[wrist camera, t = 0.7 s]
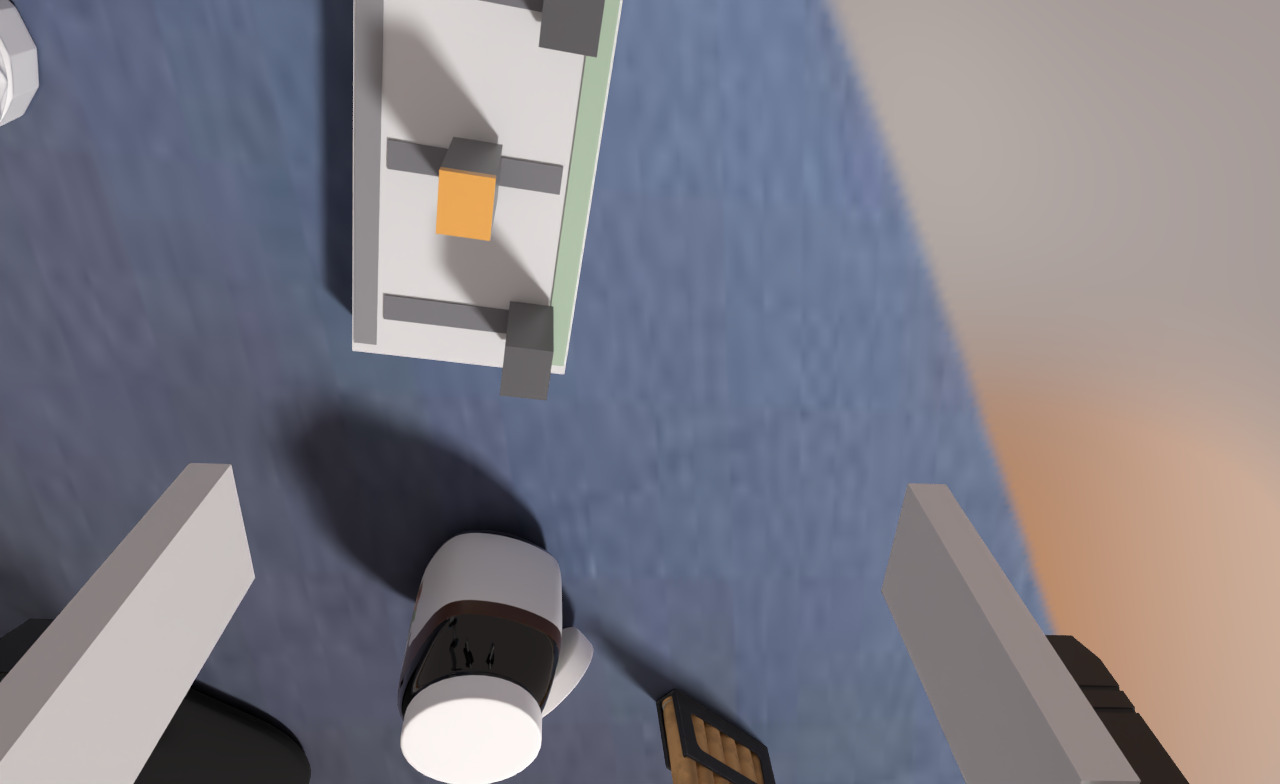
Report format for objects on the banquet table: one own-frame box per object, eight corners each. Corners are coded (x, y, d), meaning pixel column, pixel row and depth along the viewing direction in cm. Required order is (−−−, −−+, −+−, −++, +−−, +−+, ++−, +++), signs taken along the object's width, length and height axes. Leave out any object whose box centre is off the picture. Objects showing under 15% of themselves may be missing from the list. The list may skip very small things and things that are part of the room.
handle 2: (547, -40, 30) (547, -32, 26) (601, -29, 30) (608, -20, 26) (540, 29, 31) (538, 47, 27) (591, 39, 31) (596, 57, 28)
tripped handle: (453, 136, 33) (439, 169, 29) (502, 144, 33) (495, 178, 29) (449, 193, 34) (435, 233, 30) (497, 200, 34) (489, 240, 30)
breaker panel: (367, -120, 30) (353, -122, 28) (627, -65, 32) (632, -63, 30) (363, 326, 40) (351, 351, 38) (563, 350, 42) (564, 375, 39)
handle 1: (510, 301, 37) (505, 346, 33) (553, 306, 37) (553, 351, 33) (504, 346, 38) (499, 395, 34) (547, 351, 38) (546, 400, 35)
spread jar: (454, 496, 46) (427, 659, 36) (632, 549, 49) (652, 711, 39) (392, 634, 51) (353, 810, 41) (557, 673, 54) (558, 845, 45)
